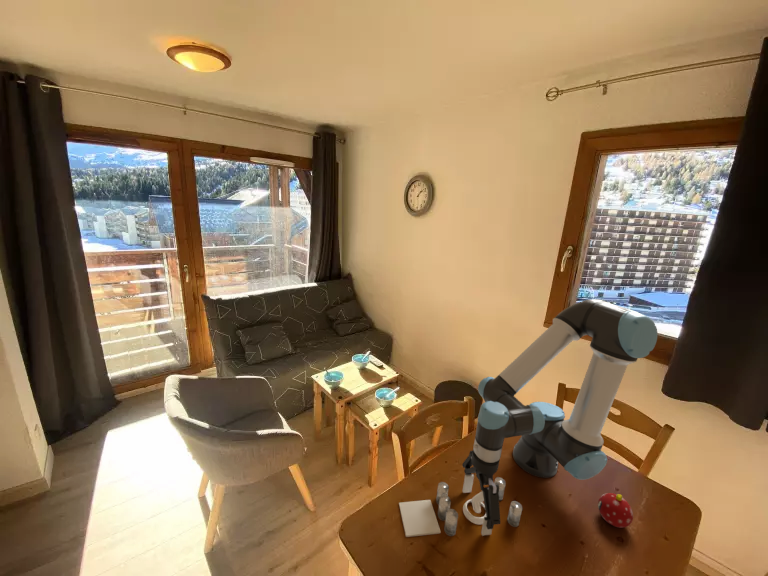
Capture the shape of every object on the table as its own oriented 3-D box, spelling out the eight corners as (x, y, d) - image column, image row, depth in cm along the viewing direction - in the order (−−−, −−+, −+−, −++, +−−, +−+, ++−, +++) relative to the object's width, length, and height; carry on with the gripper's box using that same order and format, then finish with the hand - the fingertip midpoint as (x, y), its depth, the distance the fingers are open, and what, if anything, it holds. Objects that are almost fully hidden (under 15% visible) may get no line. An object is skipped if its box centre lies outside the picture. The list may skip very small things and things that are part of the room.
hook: (511, 513, 91) (496, 506, 89) (481, 532, 95) (465, 526, 93) (501, 486, 98) (486, 479, 96) (473, 505, 102) (458, 499, 99)
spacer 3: (453, 524, 92) (455, 508, 91) (457, 535, 89) (459, 519, 88) (442, 525, 92) (445, 509, 90) (446, 536, 89) (448, 520, 87)
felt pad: (430, 501, 99) (430, 499, 99) (440, 533, 90) (440, 531, 90) (398, 504, 98) (399, 502, 97) (406, 537, 88) (406, 535, 88)
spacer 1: (444, 496, 101) (446, 481, 100) (447, 505, 98) (450, 490, 97) (434, 497, 101) (436, 482, 99) (438, 506, 98) (440, 491, 96)
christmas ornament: (633, 539, 91) (642, 512, 89) (599, 528, 94) (607, 501, 92) (623, 513, 99) (631, 488, 97) (591, 503, 102) (599, 478, 99)
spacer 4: (499, 491, 104) (502, 476, 103) (504, 500, 101) (507, 485, 100) (490, 492, 104) (493, 477, 102) (495, 501, 101) (498, 486, 99)
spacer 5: (515, 515, 96) (518, 500, 95) (520, 526, 93) (524, 510, 92) (505, 517, 96) (508, 501, 94) (510, 527, 93) (514, 511, 91)
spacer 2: (446, 510, 97) (448, 494, 95) (449, 520, 94) (452, 504, 92) (436, 511, 96) (438, 495, 95) (439, 521, 93) (441, 505, 92)
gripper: (457, 424, 102) (449, 477, 108) (495, 493, 78) (482, 556, 84) (479, 423, 103) (470, 476, 109) (523, 490, 80) (508, 553, 85)
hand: (475, 511), depth 97 cm, fingers open, 13 cm apart
